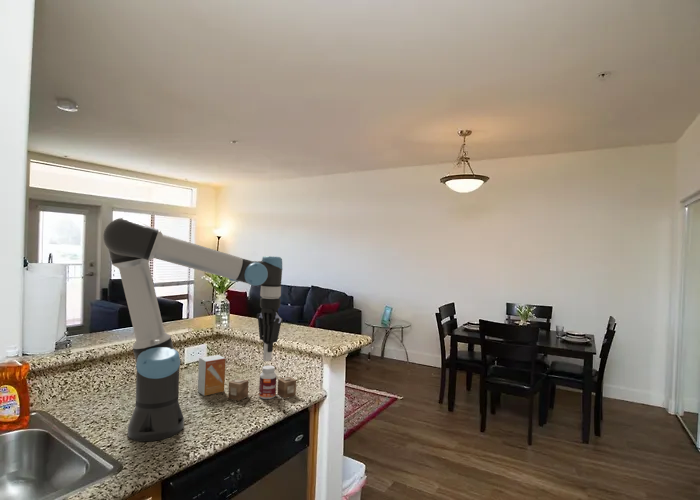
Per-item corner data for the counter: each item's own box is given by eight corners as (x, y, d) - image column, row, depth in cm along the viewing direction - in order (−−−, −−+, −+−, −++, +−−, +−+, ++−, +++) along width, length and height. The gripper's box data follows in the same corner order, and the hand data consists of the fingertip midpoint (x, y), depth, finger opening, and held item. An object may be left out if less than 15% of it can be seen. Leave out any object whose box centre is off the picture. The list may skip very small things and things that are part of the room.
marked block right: (284, 398, 146) (285, 382, 146) (277, 394, 150) (278, 378, 150) (296, 396, 149) (296, 379, 149) (288, 392, 153) (289, 376, 153)
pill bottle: (262, 400, 143) (263, 370, 143) (256, 395, 149) (257, 366, 149) (278, 397, 147) (279, 368, 147) (272, 392, 152) (273, 364, 152)
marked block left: (238, 401, 143) (239, 384, 143) (227, 398, 145) (228, 381, 145) (248, 396, 147) (248, 379, 147) (237, 394, 149) (238, 377, 149)
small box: (204, 396, 146) (205, 361, 146) (197, 391, 150) (198, 357, 150) (224, 391, 151) (226, 357, 151) (217, 387, 156) (218, 354, 156)
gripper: (289, 298, 146) (286, 362, 146) (267, 295, 155) (264, 354, 154) (273, 299, 141) (270, 365, 140) (251, 296, 149) (248, 358, 149)
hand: (267, 360), depth 147 cm, fingers closed
